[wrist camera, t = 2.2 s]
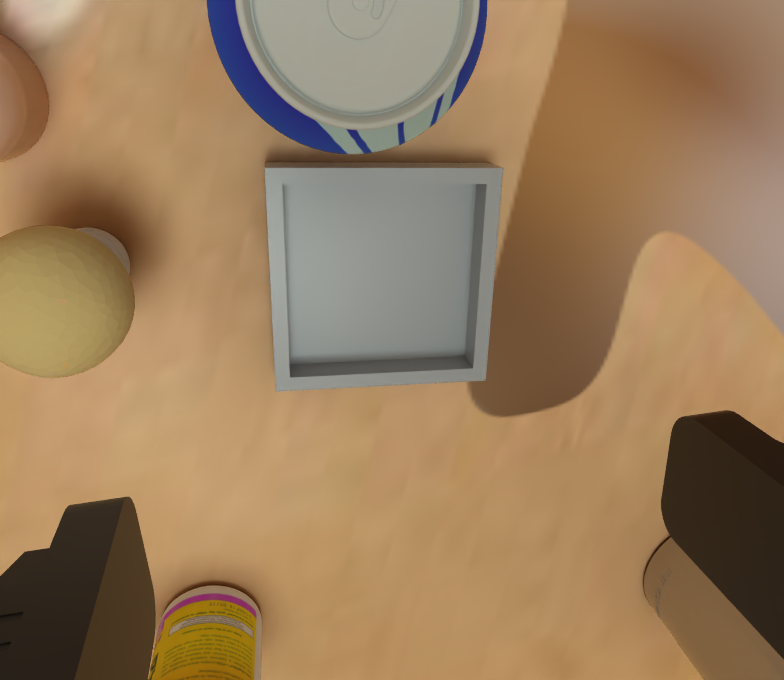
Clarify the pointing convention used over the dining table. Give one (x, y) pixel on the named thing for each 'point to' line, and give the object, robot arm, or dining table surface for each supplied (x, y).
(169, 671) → the supplement bottle
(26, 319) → the light bulb
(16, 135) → the beige rounded block
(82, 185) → the dining table surface
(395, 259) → the tray
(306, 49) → the beer can
